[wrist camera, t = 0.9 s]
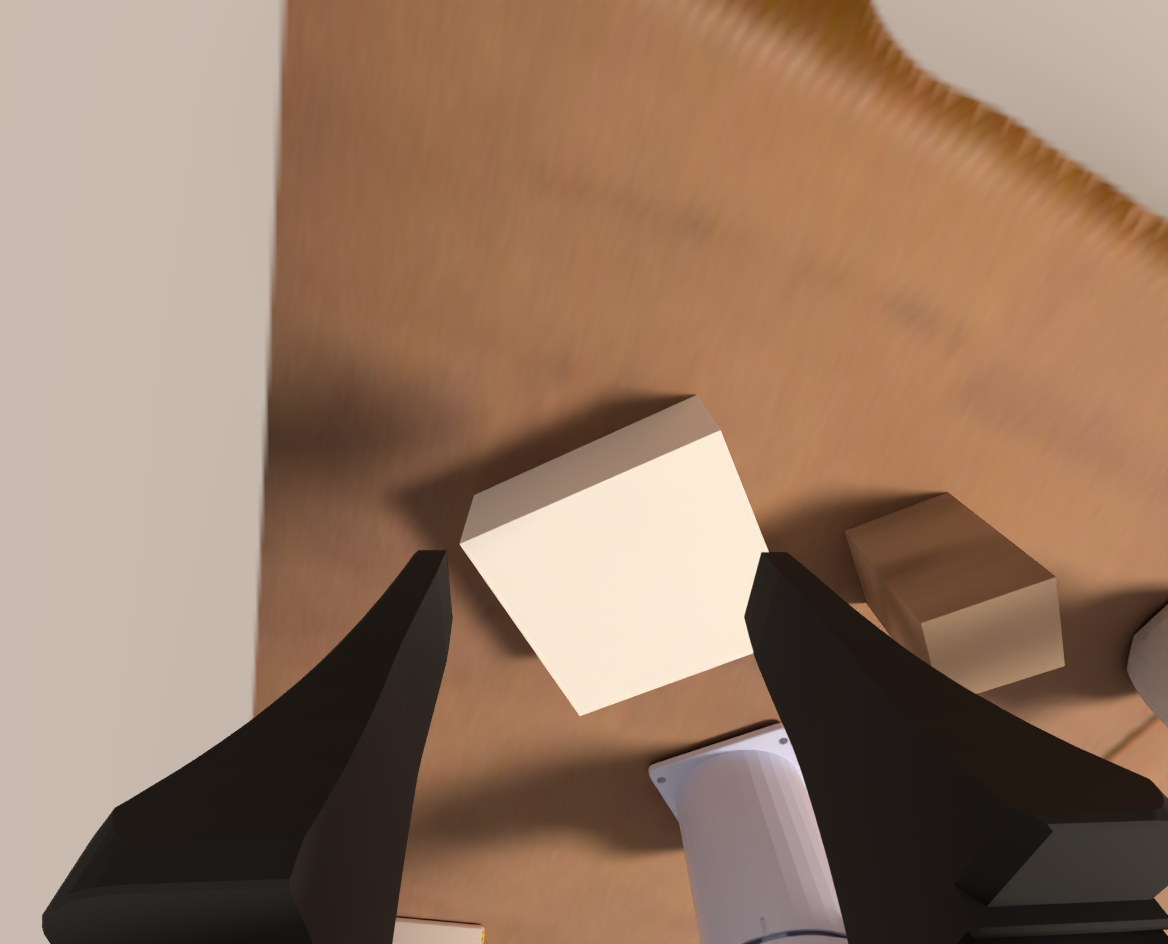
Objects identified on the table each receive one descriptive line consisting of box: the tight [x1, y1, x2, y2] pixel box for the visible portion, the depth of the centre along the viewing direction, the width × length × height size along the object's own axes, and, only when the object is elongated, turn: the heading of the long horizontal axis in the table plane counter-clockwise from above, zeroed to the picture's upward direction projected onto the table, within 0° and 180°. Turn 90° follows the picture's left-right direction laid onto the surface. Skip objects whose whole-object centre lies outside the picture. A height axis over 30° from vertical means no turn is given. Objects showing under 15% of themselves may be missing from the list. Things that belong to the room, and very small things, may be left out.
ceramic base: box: [460, 395, 769, 716], centre depth 23 cm, size 10×10×4 cm
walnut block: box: [845, 492, 1065, 694], centre depth 23 cm, size 4×4×6 cm
